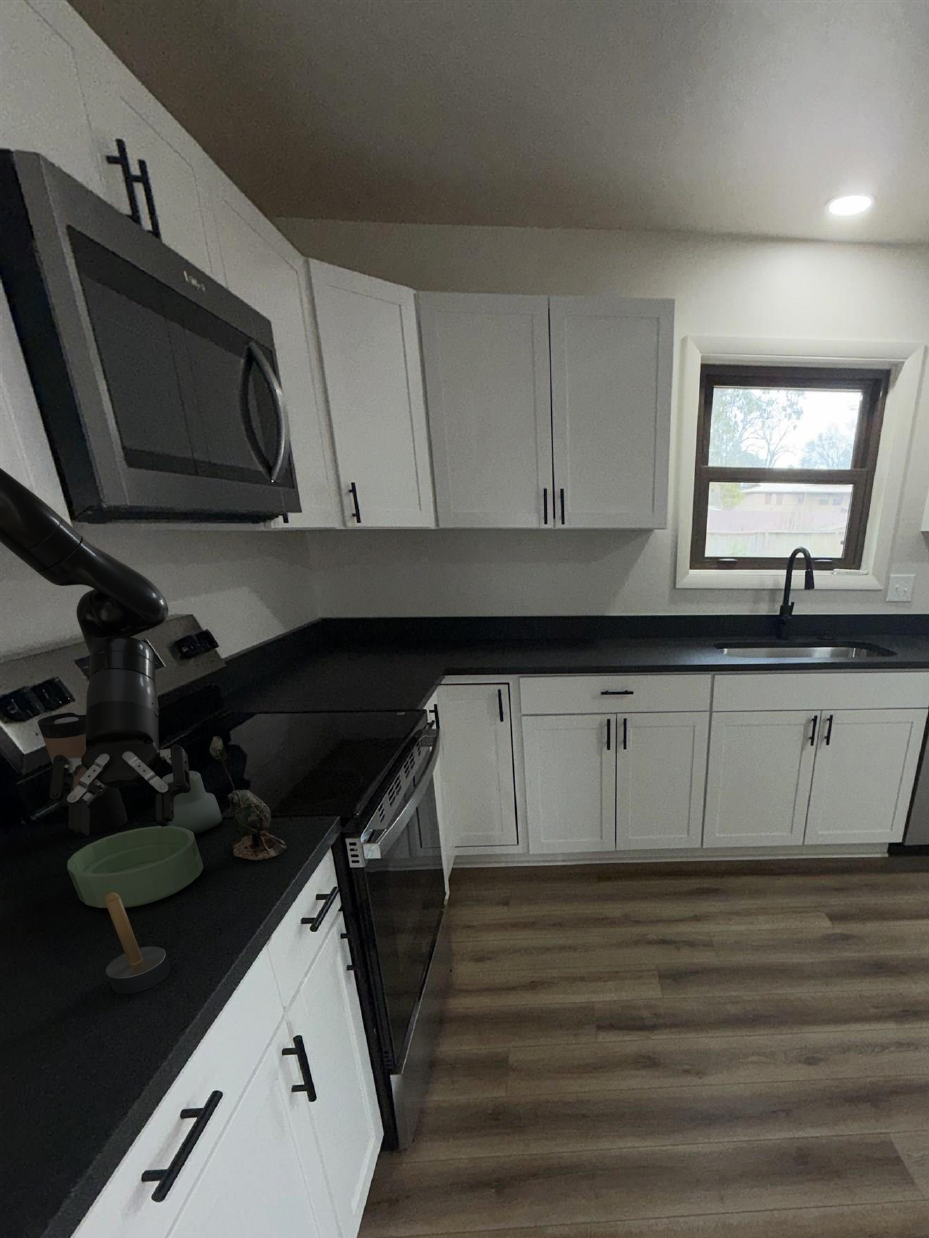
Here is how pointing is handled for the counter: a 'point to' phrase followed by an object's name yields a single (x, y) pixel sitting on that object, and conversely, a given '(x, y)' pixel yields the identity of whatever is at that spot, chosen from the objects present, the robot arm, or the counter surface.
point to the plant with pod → (249, 818)
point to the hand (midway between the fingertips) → (122, 829)
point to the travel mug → (70, 741)
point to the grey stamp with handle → (133, 956)
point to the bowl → (136, 866)
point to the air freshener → (195, 806)
